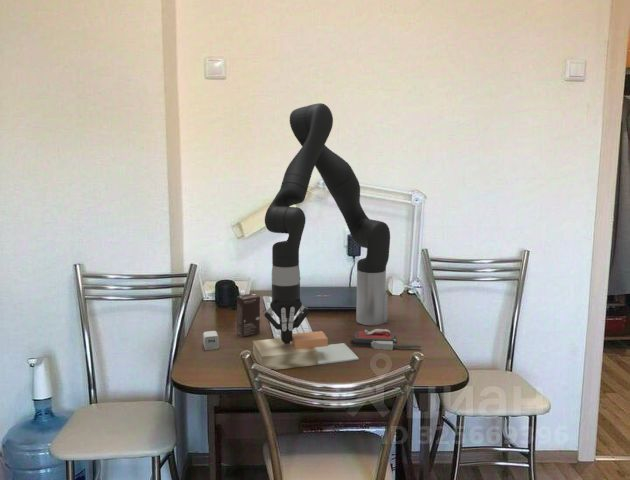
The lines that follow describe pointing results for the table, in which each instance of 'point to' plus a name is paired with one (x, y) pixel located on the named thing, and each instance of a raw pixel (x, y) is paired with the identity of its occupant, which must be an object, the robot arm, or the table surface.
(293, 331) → the keyboard
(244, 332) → the box
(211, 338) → the usb wall charger
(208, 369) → the table surface
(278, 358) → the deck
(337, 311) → the table surface
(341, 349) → the mat
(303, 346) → the tile
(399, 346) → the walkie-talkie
